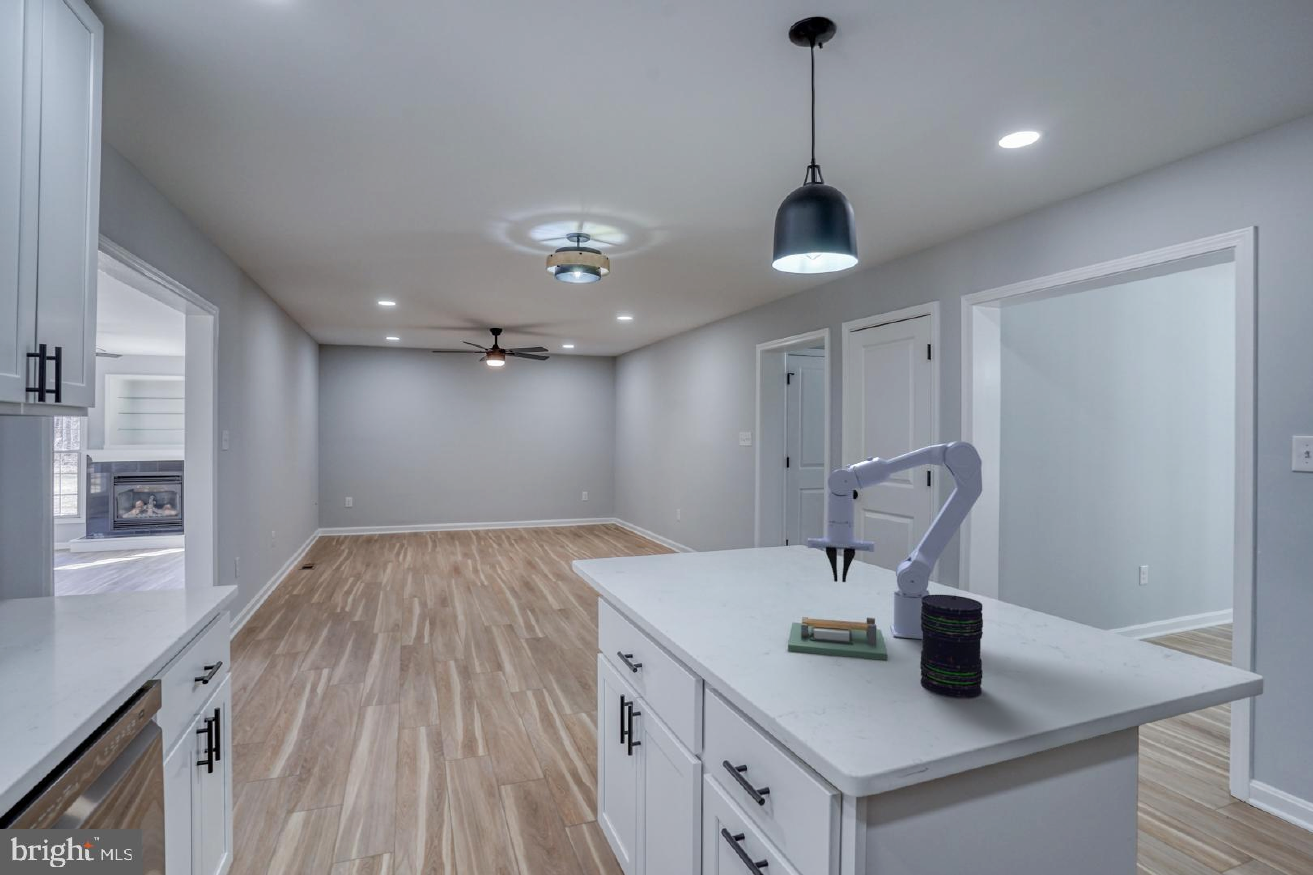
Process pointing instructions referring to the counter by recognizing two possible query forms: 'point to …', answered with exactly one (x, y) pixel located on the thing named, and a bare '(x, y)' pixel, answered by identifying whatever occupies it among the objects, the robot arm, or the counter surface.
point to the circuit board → (838, 641)
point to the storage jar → (951, 646)
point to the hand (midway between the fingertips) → (839, 581)
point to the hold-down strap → (836, 624)
